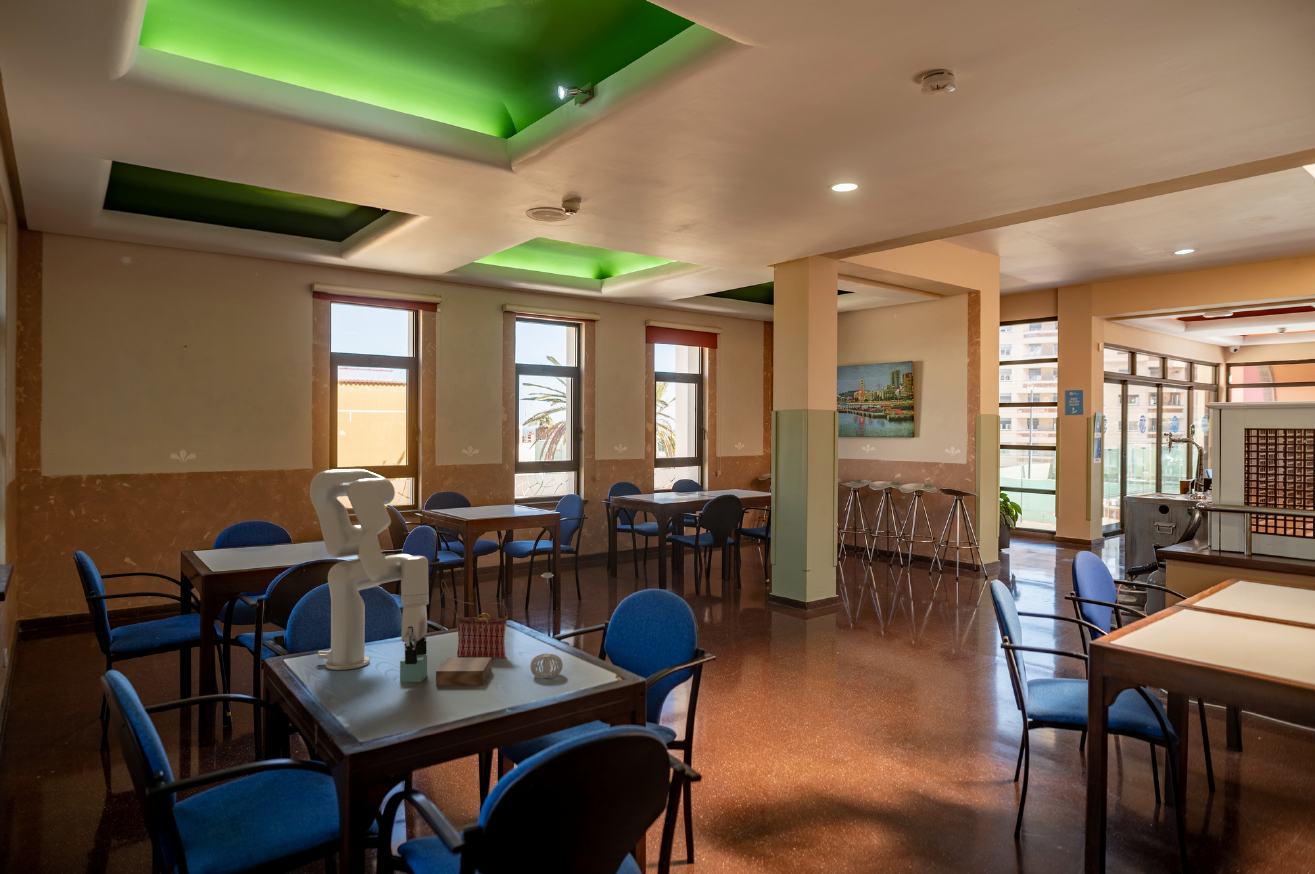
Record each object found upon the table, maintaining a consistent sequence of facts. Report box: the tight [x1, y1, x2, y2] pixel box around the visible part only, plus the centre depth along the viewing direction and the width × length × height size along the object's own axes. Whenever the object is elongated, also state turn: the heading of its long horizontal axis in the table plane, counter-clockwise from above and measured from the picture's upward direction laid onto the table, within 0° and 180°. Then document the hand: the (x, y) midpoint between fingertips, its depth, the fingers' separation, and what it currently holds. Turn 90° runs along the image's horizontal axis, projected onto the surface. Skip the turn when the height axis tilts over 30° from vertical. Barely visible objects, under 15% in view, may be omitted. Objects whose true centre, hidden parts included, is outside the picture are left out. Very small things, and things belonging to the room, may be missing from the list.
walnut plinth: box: [435, 657, 492, 687], centre depth 212 cm, size 13×13×4 cm
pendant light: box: [530, 572, 564, 680], centre depth 214 cm, size 9×9×30 cm
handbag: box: [440, 579, 509, 659], centre depth 232 cm, size 7×21×25 cm, turn 84°
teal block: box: [399, 654, 428, 683], centre depth 211 cm, size 6×6×6 cm
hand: (416, 659), depth 211 cm, fingers open, 9 cm apart
